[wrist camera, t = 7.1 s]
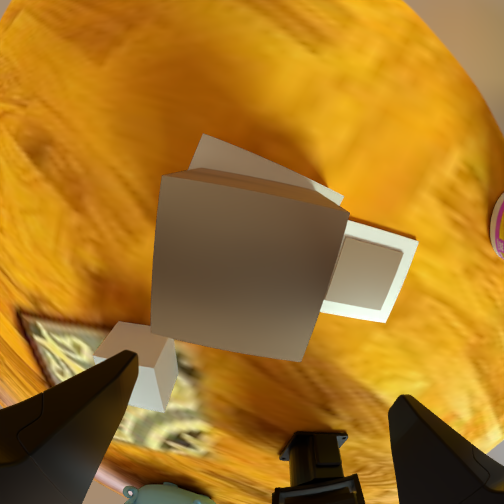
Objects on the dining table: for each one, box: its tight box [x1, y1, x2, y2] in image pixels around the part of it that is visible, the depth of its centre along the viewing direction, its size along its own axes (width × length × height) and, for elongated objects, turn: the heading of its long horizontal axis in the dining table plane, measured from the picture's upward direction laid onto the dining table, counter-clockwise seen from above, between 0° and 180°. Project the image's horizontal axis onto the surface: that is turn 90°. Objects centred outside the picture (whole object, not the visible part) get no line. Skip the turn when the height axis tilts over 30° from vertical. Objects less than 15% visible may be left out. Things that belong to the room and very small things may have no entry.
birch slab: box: [188, 133, 344, 206], centre depth 17 cm, size 8×8×4 cm
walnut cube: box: [151, 168, 350, 362], centre depth 12 cm, size 6×6×6 cm
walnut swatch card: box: [320, 220, 418, 323], centre depth 19 cm, size 7×7×1 cm
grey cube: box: [93, 321, 178, 413], centre depth 20 cm, size 5×5×5 cm
